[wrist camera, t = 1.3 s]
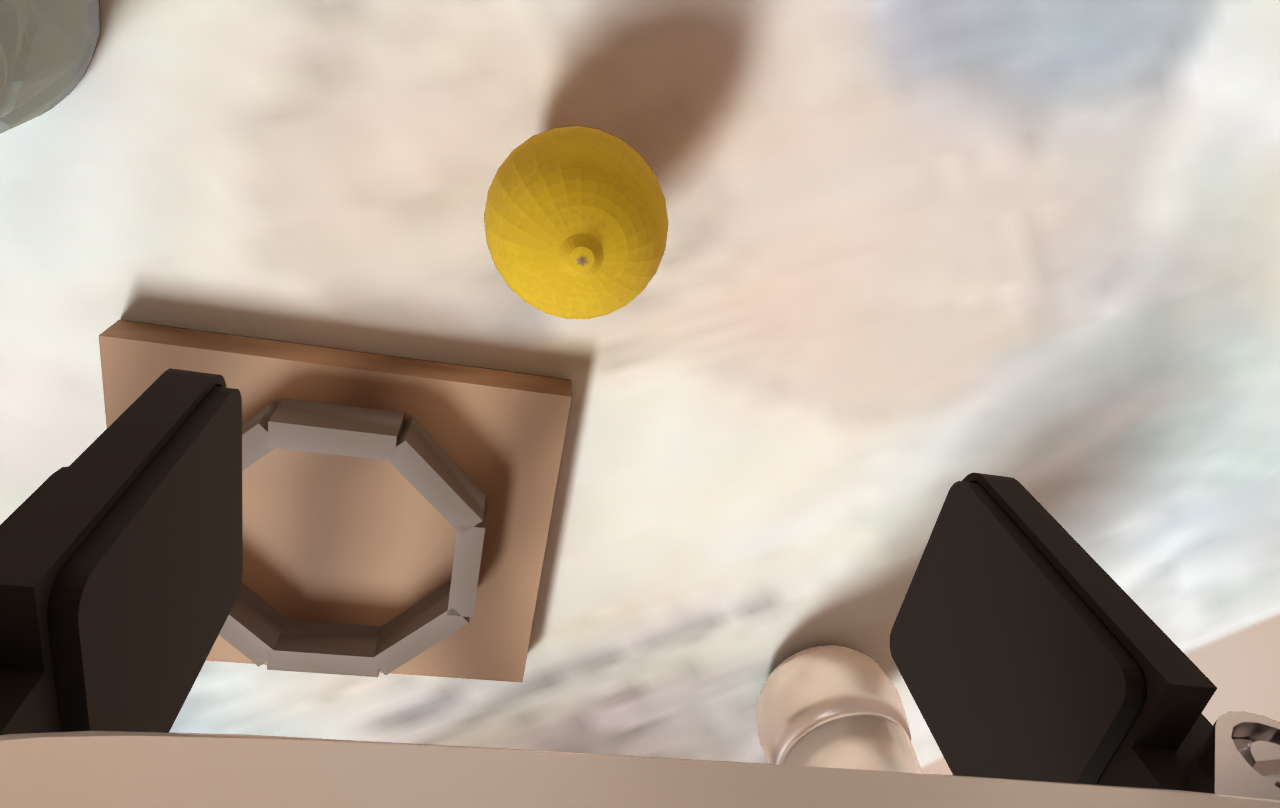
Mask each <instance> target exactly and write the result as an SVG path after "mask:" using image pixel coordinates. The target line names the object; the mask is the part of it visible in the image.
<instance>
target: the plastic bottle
mask: <svg viewBox="0 0 1280 808" xmlns="http://www.w3.org/2000/svg"><path fill="white" fill-rule="evenodd" d="M757 721H758V735H759V740H760V744H761V747H762V749H763V751H764V753H765V756H766V758H767V760H768V762H769V764H777V765H793V766H810V767H826V768H842V769H858V770H875V771H891V772H906V773H922V770H921V768H920V765H919V762H918V759H917V757H916V754H915V751H914V749H913V746H912V743H911V735H910V730H909V725H908V721H907V717H906V714H905V711H904V708H903V705H902V701H901V698H900V696H899V693H898V691H897V688H896V687H895V686H894V684H893V683H892V682H891V680H890V679H889V678H888V677H887V675H886V674H885V673H884V671H883V670H882V669H881V667H880V666H879V665H878V664H877V662H876V661H874V660H873V659H872V658H870V657H869V656H867V655H865V654H863V653H860V652H858V651H855V650H853V649H850V648H848V647H843V646H838V645H823V646H815V647H812V648H808V649H805V650H802V651H800V652H798V653H795V654H793V655H792V656H790V657H789V658H787V659H785V660H784V661H783V662H782V663H780V664H779V665H778V666H777V667H776V668H775V669H774V670H773V672H772V673H771V674H770V676H769V677H768V679H767V681H766V683H765V685H764V687H763V689H762V690H761V692H760V696H759V699H758V702H757ZM922 774H923V773H922Z"/></svg>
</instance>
